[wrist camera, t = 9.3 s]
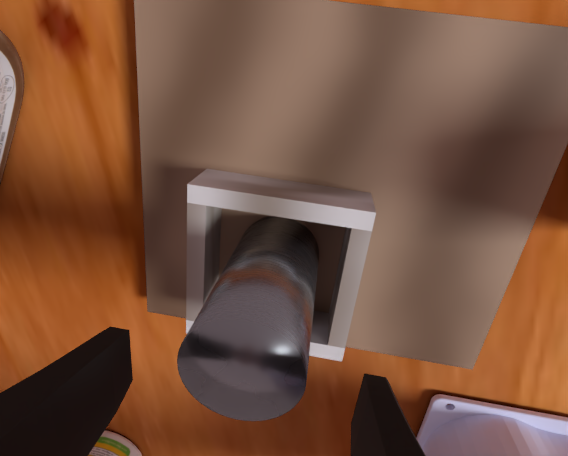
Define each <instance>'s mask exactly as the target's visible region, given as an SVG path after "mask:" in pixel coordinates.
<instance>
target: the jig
mask: <svg viewBox="0 0 568 456" xmlns="http://www.w3.org/2000/svg"><path fill="white" fill-rule="evenodd" d="M134 12H135V35H136V58H137V81H138V104H139V127H140V149H141V172H142V195H143V218H144V241H145V264H146V286H147V309H148V312H153V313H159V314H164V315H170V316H176V317H181V318H186V333H188V332H189V330H190V328H191V326H192V325H193V323H194V321H195V319H196V317H197V316H198V314H199V312H200V310H201V309H202V307H203V305H204V303H205V302H206V300H207V298H208V296H209V294H210V293H211V291H212V289H213V287H214V286H215V284H216V282H217V280H218V279H219V277H220V275H221V273H222V271H223V270H224V268H225V266H226V264H227V263H228V261H229V259H230V257H231V255H232V254H233V252H234V250H235V248H236V247H237V245H238V243H239V241H240V240H241V238H242V236H243V234H244V233H245V231H246V230H247V229H248V228H249V226H251V225H252V224H253V223H254V222H256V221H258V220H260V219H262V218H266V217H271V216H276V217H283V218H289V219H294V220H296V221H298V222H300V223H301V224H303V225H304V226H305V227H306V228H308V229H309V231H310V232H311V233H312V234H313V236H314V237H315V239H316V241H317V244H318V248H319V263H318V273H317V282H316V292H315V302H314V312H313V322H312V331H311V341H310V351H309V356H314V357H320V358H325V359H331V360H336V361H342V359H343V355H344V350H345V347H349V348H355V349H361V350H366V351H372V352H377V353H383V354H389V355H394V356H400V357H405V358H411V359H417V360H422V361H428V362H433V363H439V364H445V365H450V366H456V367H462V368H467V369H473V367H474V365H475V362H476V360H477V357H478V355H479V353H480V350H481V348H482V346H483V343H484V341H485V338H486V336H487V334H488V331H489V329H490V327H491V324H492V322H493V320H494V317H495V315H496V312H497V310H498V308H499V305H500V303H501V301H502V298H503V296H504V293H505V291H506V289H507V286H508V284H509V282H510V279H511V277H512V274H513V272H514V270H515V267H516V265H517V263H518V260H519V258H520V255H521V253H522V251H523V248H524V246H525V244H526V241H527V239H528V237H529V234H530V232H531V229H532V227H533V225H534V222H535V220H536V218H537V215H538V213H539V210H540V208H541V206H542V203H543V201H544V199H545V196H546V194H547V191H548V189H549V187H550V184H551V182H552V180H553V177H554V175H555V173H556V170H557V168H558V165H559V163H560V161H561V158H562V156H563V154H564V151H565V149H566V146H567V144H568V27H561V26H552V25H543V24H534V23H525V22H516V21H507V20H498V19H489V18H480V17H471V16H462V15H453V14H444V13H435V12H426V11H417V10H408V9H399V8H390V7H381V6H372V5H363V4H354V3H346V2H337V1H328V0H134Z"/></svg>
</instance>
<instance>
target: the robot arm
mask: <svg viewBox="0 0 568 456" xmlns="http://www.w3.org/2000/svg"><path fill="white" fill-rule="evenodd" d="M132 380H133V379H132V364H131V350H130V335H129V330H126V329H120V328H115V327H109V328H107V329H106V330H104V331H102V332H101V333H99V334H98V335H96V336H94V337H93V338H91V339H90V340H88V341H86V342H85V343H83V344H82V345H80V346H79V347H77V348H76V349H74V350H72V351H71V352H69V353H68V354H66V355H64V356H63V357H61V358H60V359H58V360H56V361H55V362H53V363H51V364H50V365H48V366H47V367H45V368H43V369H42V370H40V371H38V372H37V373H35V374H33V375H31V376H30V377H28V378H26V379H24V380H23V381H21V382H19V383H17V384H16V385H14V386H12V387H10V388H9V389H7V390H5V391H3V392H2V393H0V456H88V455H89V453H90V452H91V450H92V449H93V447H94V446H95V444H96V443H97V441H98V440H99V438H100V437H101V435H102V434H103V432H104V431H105V429H106V427H107V426H108V424H109V423H110V421H111V420H112V418H113V417H114V415H115V414H116V412H117V410H118V408H119V406H120V404H121V402H122V400H123V399H124V397H125V394H126V392H127V390H128V388H129V386H130V384H131V382H132ZM447 404H450V405H447ZM351 456H568V417H562V416H557V415H551V414H546V413H541V412H535V411H530V410H524V409H519V408H513V407H508V406H503V405H497V404H492V403H486V402H481V401H475V400H470V399H465V398H459V397H454V396H448V395H443V394H437V395H435V396H433V397H432V399H431V401H430V404H429V406H428V409H427V412H426V414H425V417H424V420H423V422H422V425H421V427H420V430H419V433H418V435H417V438H416V437H415V435H414V433H413V431H412V430H411V428H410V426H409V424H408V422H407V420H406V418H405V416H404V414H403V412H402V410H401V408H400V406H399V404H398V402H397V399H396V397H395V395H394V393H393V391H392V389H391V386H390V384H389V382H388V380H387V379H386V377H380V376H375V375H369V374H364V377H363V381H362V385H361V388H360V392H359V396H358V400H357V403H356V407H355V411H354V415H353V418H352V422H351Z"/></svg>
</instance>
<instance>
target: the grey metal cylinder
mask: <svg viewBox="0 0 568 456" xmlns="http://www.w3.org/2000/svg"><path fill="white" fill-rule="evenodd" d="M318 263H319V248H318V244H317V241H316V239H315V237H314V236H313V234H312V233H311V232H310V231H309V229H308V228H306V227H305V226H304V225H303V224H301V223H300V222H298V221H296V220H294V219H289V218H283V217H276V216H271V217H266V218H262V219H260V220H258V221H256V222H254V223H253V224H252V225H251V226H249V228H248V229H247V230H246V231H245V233H244V234H243V236H242V238H241V240H240V241H239V243H238V245H237V247H236V248H235V250H234V252H233V254H232V255H231V257H230V259H229V261H228V263H227V264H226V266H225V268H224V270H223V271H222V273H221V275H220V277H219V279H218V280H217V282H216V284H215V286H214V287H213V289H212V291H211V293H210V294H209V296H208V298H207V300H206V302H205V303H204V305H203V307H202V309H201V310H200V312H199V314H198V316H197V317H196V319H195V321H194V323H193V325H192V326H191V328H190V330H189V332H188V333H187V335H186V337H185V339H184V341H183V342H182V344H181V347H180V349H179V352H178V359H177V364H178V370H179V374H180V377H181V379H182V382H183V383H184V385H185V387H186V388H187V390H188V391H189V392H190V393H191V394H192V396H193V397H194V398H195V399H197V400H198V401H199V402H200V403H201V404H203V405H204V406H206V407H207V408H209V409H210V410H212V411H214V412H216V413H218V414H221V415H223V416H226V417H229V418H233V419H237V420H244V421H262V420H269V419H272V418H276V417H278V416H281V415H283V414H285V413H287V412H288V411H290V410H291V409H292V408H293V407H294V406H295V405H296V404H297V403H298V402H299V401H300V399H301V398H302V396H303V394H304V391H305V387H306V380H307V370H308V361H309V351H310V341H311V331H312V322H313V312H314V302H315V292H316V282H317V273H318Z"/></svg>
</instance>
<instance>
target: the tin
mask: <svg viewBox="0 0 568 456" xmlns="http://www.w3.org/2000/svg"><path fill="white" fill-rule="evenodd" d="M23 93H24V73H23V67H22V62H21V59H20V57H19V55H18V52H17V50H16V48H15V47H14V45H13V44H12V42H11V41H10V40H9V38H8V37H7V36H6V35H5V34H4V33H3V32H2V31H1V30H0V184H1V180H2V177H3V173H4V170H5V166H6V162H7V158H8V154H9V151H10V147H11V143H12V139H13V135H14V132H15V128H16V124H17V120H18V116H19V112H20V109H21V105H22V99H23Z"/></svg>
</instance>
